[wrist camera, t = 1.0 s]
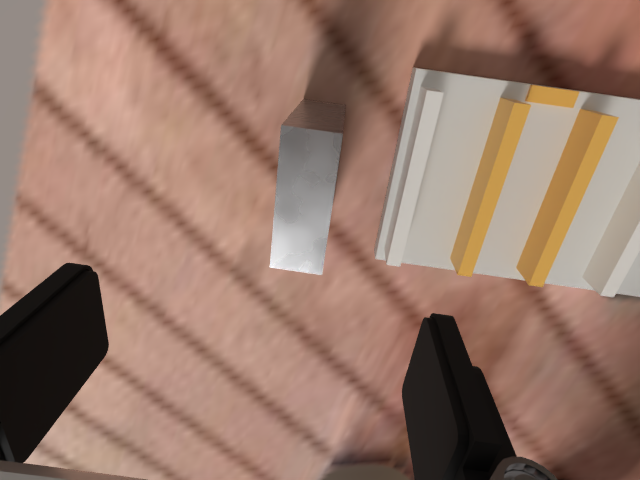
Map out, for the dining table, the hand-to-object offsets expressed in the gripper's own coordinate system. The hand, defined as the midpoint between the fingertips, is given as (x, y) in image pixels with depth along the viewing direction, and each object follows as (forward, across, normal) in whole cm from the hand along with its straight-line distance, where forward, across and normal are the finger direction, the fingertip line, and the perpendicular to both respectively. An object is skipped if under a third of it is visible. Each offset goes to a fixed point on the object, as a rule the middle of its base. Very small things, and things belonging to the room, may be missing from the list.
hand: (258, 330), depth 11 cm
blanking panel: (+20, 0, 0) cm, 20 cm away
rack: (+20, -17, 0) cm, 27 cm away
